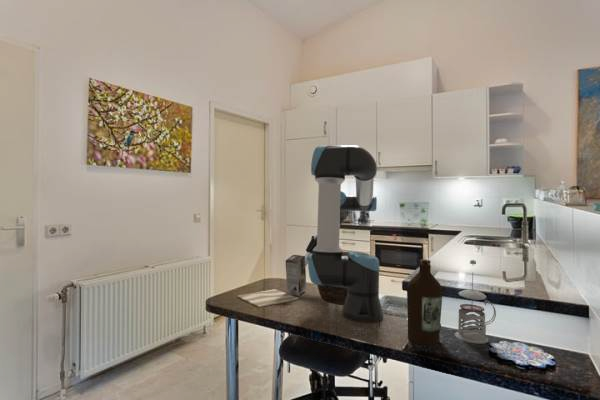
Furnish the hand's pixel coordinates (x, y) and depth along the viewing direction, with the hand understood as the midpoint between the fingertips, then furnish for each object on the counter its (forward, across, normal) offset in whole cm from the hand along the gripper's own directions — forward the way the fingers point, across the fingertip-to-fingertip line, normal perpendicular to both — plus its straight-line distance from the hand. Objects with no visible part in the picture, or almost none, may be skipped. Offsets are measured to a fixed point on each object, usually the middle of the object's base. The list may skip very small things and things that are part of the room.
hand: (303, 264), depth 162 cm
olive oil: (+12, -66, -7) cm, 67 cm away
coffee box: (+11, -1, -6) cm, 13 cm away
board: (+23, -1, +5) cm, 24 cm away
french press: (+1, -75, -17) cm, 77 cm away
